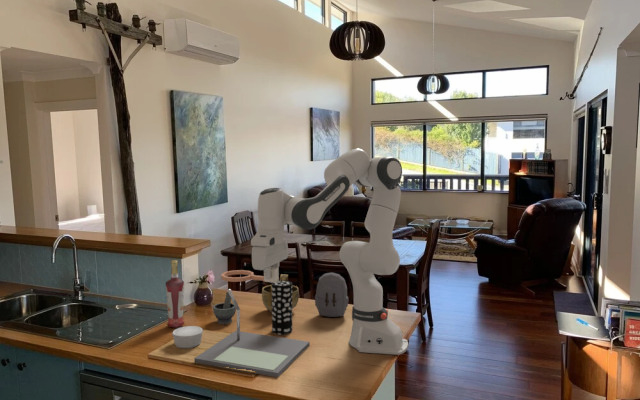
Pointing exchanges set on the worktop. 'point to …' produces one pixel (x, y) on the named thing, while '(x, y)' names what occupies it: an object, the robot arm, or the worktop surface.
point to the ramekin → (187, 336)
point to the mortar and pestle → (224, 310)
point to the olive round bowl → (268, 294)
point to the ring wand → (250, 276)
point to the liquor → (175, 298)
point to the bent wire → (237, 313)
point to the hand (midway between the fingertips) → (271, 277)
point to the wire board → (254, 353)
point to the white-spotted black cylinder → (282, 307)
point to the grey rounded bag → (331, 295)
